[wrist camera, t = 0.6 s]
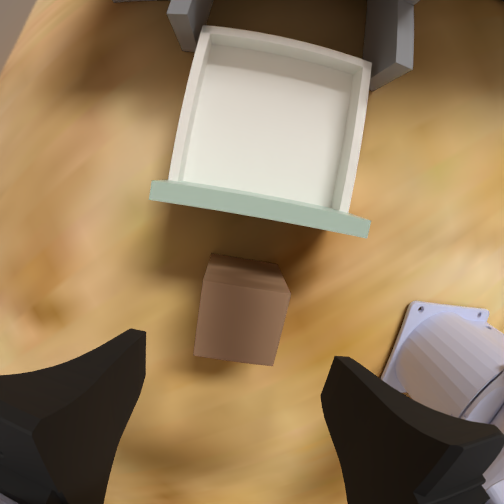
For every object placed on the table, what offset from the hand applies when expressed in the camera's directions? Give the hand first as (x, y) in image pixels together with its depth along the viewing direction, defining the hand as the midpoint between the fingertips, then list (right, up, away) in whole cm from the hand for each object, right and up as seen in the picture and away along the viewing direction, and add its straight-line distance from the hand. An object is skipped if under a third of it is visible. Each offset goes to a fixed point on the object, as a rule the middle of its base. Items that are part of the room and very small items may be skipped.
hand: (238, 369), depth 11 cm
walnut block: (0, +2, +8) cm, 8 cm away
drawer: (+1, +12, +6) cm, 13 cm away
